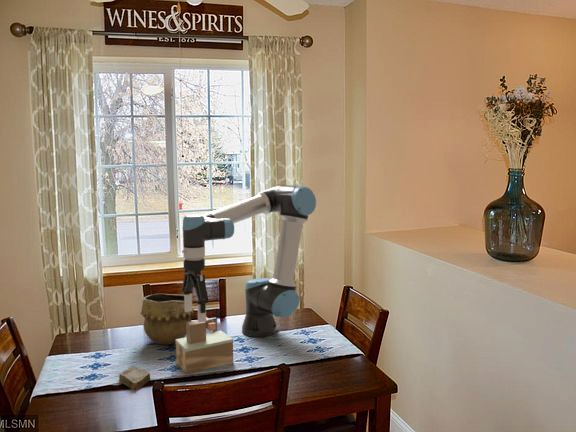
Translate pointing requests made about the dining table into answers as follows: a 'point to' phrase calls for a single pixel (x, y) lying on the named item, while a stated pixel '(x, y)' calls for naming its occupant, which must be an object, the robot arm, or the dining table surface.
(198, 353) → the toolbox
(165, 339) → the clay pot
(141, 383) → the stone
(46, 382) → the dining table surface
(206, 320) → the staple
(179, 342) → the lid
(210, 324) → the key bar
